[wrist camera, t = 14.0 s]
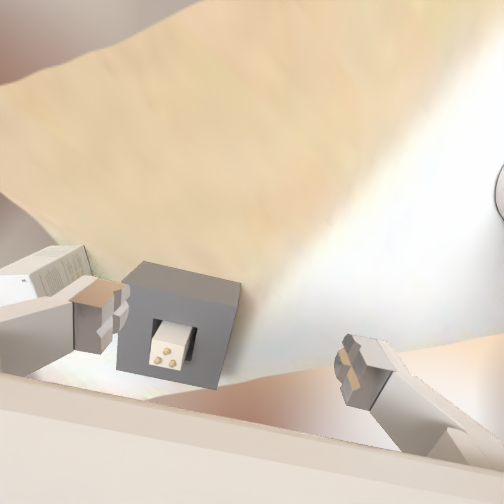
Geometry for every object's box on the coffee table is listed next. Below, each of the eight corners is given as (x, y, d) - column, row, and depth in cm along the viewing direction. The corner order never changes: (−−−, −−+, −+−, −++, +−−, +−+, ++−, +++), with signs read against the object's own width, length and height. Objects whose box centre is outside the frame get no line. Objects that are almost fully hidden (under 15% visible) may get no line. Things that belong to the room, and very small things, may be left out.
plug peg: (201, 305, 44) (183, 349, 34) (197, 325, 45) (178, 374, 35) (175, 299, 43) (149, 342, 33) (172, 320, 45) (147, 367, 35)
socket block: (241, 283, 42) (237, 307, 35) (222, 357, 47) (216, 390, 41) (143, 261, 41) (121, 281, 34) (136, 339, 47) (116, 369, 40)
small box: (50, 244, 40) (-17, 274, 31) (84, 244, 40) (27, 273, 30) (65, 289, 43) (7, 329, 34) (97, 289, 43) (49, 329, 33)
